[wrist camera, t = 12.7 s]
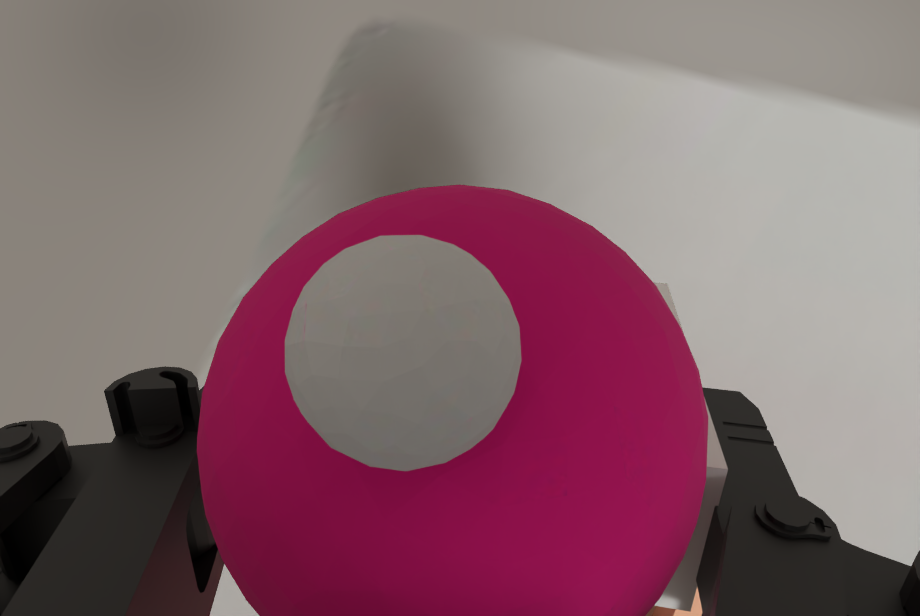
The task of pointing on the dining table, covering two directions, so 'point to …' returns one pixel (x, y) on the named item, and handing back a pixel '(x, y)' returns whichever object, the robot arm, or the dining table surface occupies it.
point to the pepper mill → (453, 418)
